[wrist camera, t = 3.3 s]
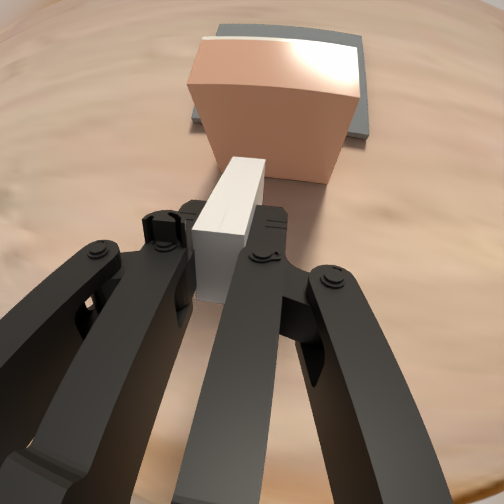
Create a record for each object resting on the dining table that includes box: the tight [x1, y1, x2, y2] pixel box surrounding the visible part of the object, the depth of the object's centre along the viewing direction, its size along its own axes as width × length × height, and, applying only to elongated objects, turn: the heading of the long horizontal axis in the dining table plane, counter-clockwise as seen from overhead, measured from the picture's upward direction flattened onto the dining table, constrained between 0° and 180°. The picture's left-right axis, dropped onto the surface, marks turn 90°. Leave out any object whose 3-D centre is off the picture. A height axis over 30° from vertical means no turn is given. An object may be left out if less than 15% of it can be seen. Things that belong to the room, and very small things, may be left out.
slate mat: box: [191, 24, 369, 139], centre depth 28 cm, size 14×16×1 cm
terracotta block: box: [187, 36, 360, 184], centre depth 21 cm, size 4×9×12 cm, turn 82°
